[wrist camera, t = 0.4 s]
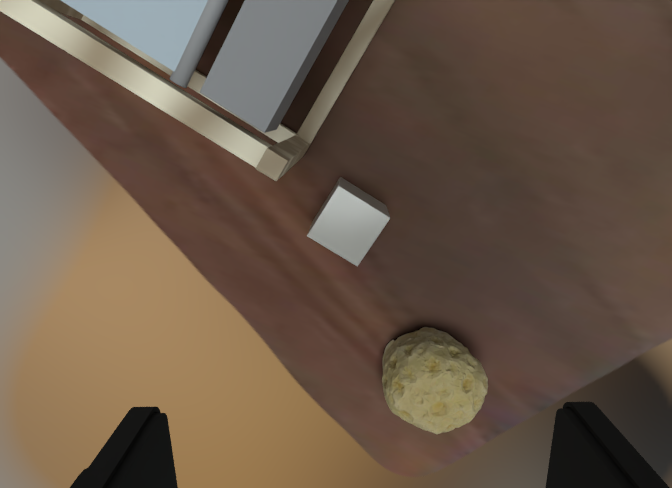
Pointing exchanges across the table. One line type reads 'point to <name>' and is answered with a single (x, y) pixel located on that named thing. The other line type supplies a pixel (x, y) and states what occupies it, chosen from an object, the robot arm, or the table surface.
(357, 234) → the cube
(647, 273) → the table surface
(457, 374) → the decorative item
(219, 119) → the frame
